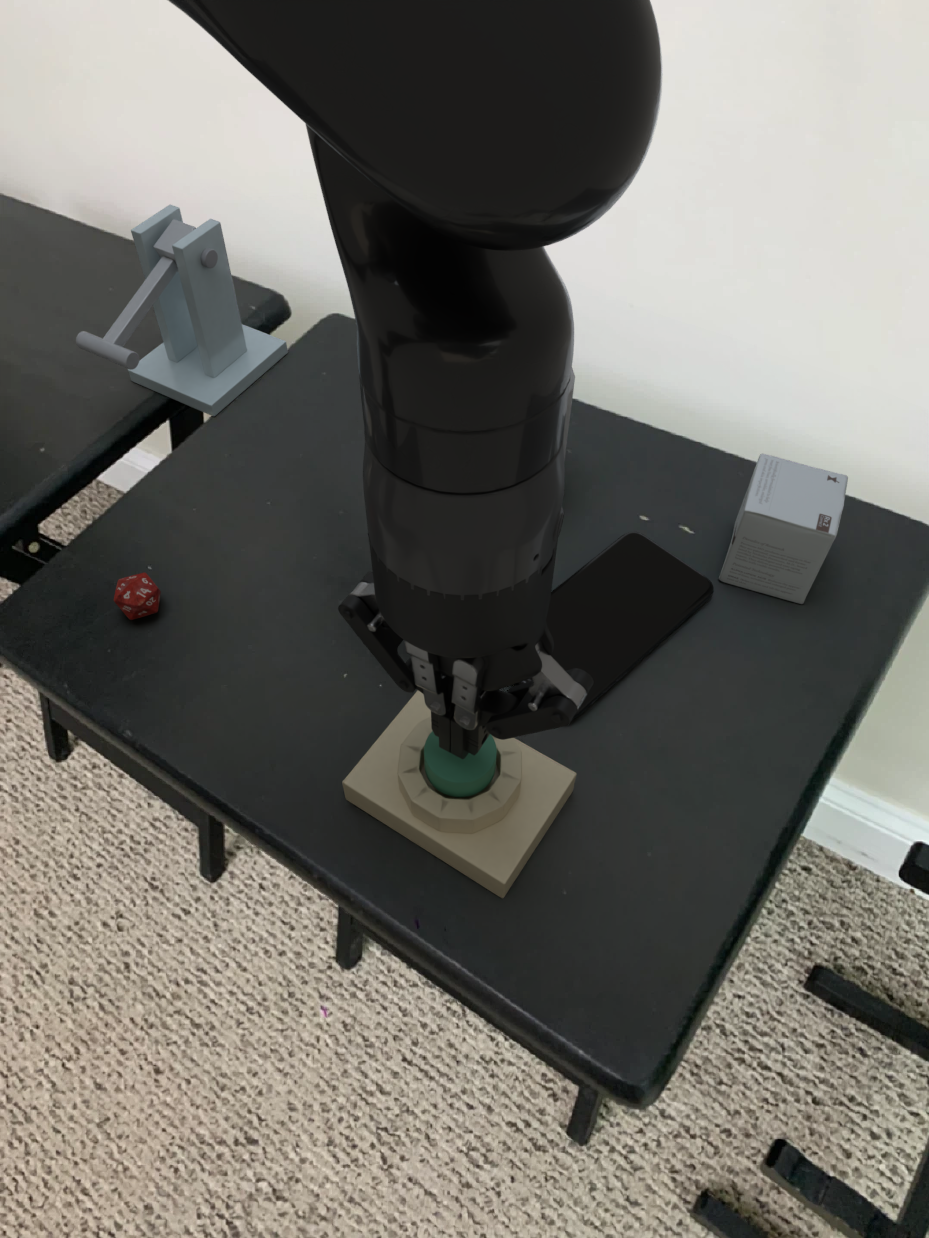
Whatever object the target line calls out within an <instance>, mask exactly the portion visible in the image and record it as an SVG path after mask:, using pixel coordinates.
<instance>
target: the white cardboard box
mask: <svg viewBox="0 0 929 1238" xmlns="http://www.w3.org/2000/svg"><path fill="white" fill-rule="evenodd" d="M756 461H757V462H756V463H755V466H754V470H753V472H752V475H751V478H750V481H749V483H748V486H747V489H746V492H745V495H744V496H743V500H742V503H741V505H740V508H739V510H738V513H737V516H736V519H735V522H734V526H733V530H732V536H731V540H730V543H729V546H728V549H727V551H726V552H727V553H726V556H725V559H724V562H723V565H722V568H721V571H720V573H719V576H718V580H719V581H720V582H722V583H724V584H728V585H732V586H735V587H739V588H742V589H745V590H749V591H752V592H757V593H760V594H763V595H767V596H771V597H774V598H778V599H781V600H784V601H788V602H792V603H795V604H799V605H803V604H804V603H805V601H806V599H807V596H808V595H809V592H810V590H811V588H812V586H813V584H814V583H815V580H816V578H817V576H818V574H819V572H820V570H821V568H822V566H823V564H824V562H825V559H826V558H827V556H828V554H829V552H830V550H831V548H832V546H833V544H834V541H835V540H836V538H837V535H838V532H839V527H840V522H841V519H842V513H843V510H844V506H845V499H846V494H847V487H848V481H849V477H848V475H847V474H843V473H840V472H839V473H838V472H834V471H831V470H826V469H823V468H820V467H819V468H818V467H815V466H812V465H808V464H803V463H800V462H796V461H793V460H789V459H786V458H782V457H779V456H775V455H772V454H771V455H770V454H767V453H759V456H758V458H757V460H756Z"/></svg>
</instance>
